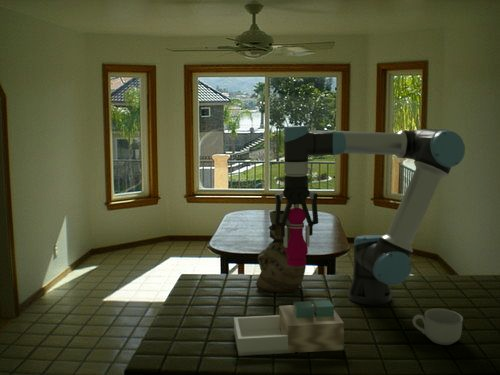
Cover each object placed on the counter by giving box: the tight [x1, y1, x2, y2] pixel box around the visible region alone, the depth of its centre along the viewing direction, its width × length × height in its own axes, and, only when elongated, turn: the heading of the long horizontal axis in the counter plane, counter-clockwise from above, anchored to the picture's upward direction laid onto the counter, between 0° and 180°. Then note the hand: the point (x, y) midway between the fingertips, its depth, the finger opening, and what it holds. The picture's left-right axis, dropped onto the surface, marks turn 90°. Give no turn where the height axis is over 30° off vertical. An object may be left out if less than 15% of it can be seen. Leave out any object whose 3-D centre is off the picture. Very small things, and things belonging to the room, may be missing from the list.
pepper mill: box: [285, 204, 309, 267], centre depth 176 cm, size 7×7×20 cm
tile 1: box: [293, 300, 314, 318], centre depth 162 cm, size 5×5×3 cm
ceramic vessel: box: [255, 209, 307, 294], centre depth 208 cm, size 19×21×30 cm
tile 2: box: [312, 299, 335, 317], centre depth 162 cm, size 5×5×3 cm
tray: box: [233, 314, 289, 357], centre depth 161 cm, size 14×16×5 cm
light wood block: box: [278, 303, 345, 354], centre depth 163 cm, size 16×16×8 cm
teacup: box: [412, 307, 464, 346], centre depth 161 cm, size 14×11×8 cm
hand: (296, 245), depth 176 cm, fingers closed on pepper mill, 6 cm apart
